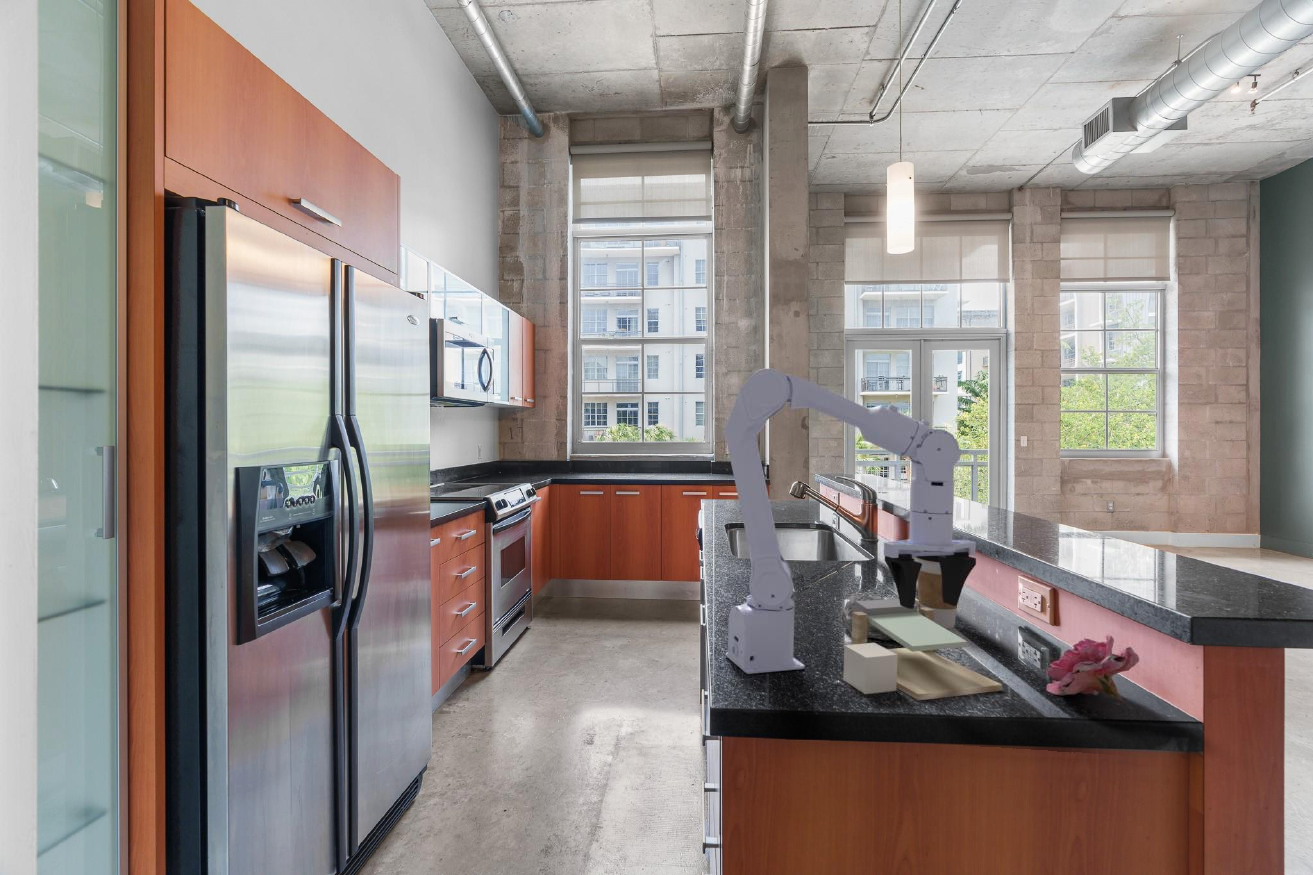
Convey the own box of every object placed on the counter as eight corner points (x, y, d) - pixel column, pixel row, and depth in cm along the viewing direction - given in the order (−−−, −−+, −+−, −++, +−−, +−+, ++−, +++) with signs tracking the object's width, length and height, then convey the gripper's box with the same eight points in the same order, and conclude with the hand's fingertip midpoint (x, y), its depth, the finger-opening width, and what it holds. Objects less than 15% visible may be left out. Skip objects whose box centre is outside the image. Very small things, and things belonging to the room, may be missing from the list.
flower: (1036, 715, 86) (1022, 642, 92) (1111, 725, 85) (1092, 652, 91) (1083, 695, 77) (1063, 616, 82) (1168, 707, 76) (1142, 626, 82)
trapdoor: (911, 659, 86) (913, 638, 86) (853, 619, 99) (855, 601, 99) (965, 654, 89) (968, 634, 89) (902, 615, 102) (904, 598, 102)
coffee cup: (968, 632, 112) (971, 549, 112) (919, 629, 113) (921, 547, 113) (954, 619, 120) (956, 542, 120) (908, 616, 121) (910, 539, 121)
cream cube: (865, 694, 83) (866, 657, 83) (843, 680, 88) (844, 645, 88) (896, 691, 85) (897, 654, 85) (873, 677, 90) (874, 642, 90)
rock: (839, 640, 106) (935, 654, 102) (841, 603, 106) (937, 615, 102) (841, 618, 118) (927, 630, 114) (843, 585, 118) (929, 595, 114)
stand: (918, 700, 82) (919, 643, 82) (846, 658, 97) (847, 610, 97) (1001, 690, 86) (1003, 636, 86) (920, 651, 101) (921, 605, 101)
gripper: (908, 515, 84) (905, 616, 84) (993, 514, 88) (990, 610, 88) (875, 509, 91) (872, 602, 91) (955, 508, 95) (953, 597, 95)
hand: (928, 605), depth 90 cm, fingers open, 7 cm apart
